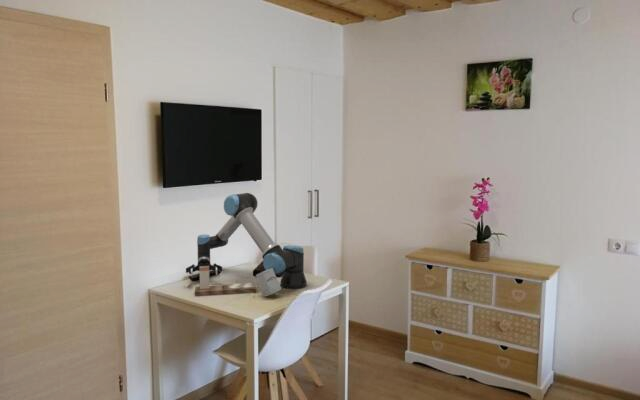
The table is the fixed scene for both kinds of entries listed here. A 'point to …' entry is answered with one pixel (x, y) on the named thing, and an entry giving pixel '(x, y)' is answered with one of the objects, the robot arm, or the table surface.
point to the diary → (261, 268)
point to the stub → (204, 277)
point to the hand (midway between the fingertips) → (204, 273)
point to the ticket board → (227, 289)
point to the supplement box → (268, 282)
